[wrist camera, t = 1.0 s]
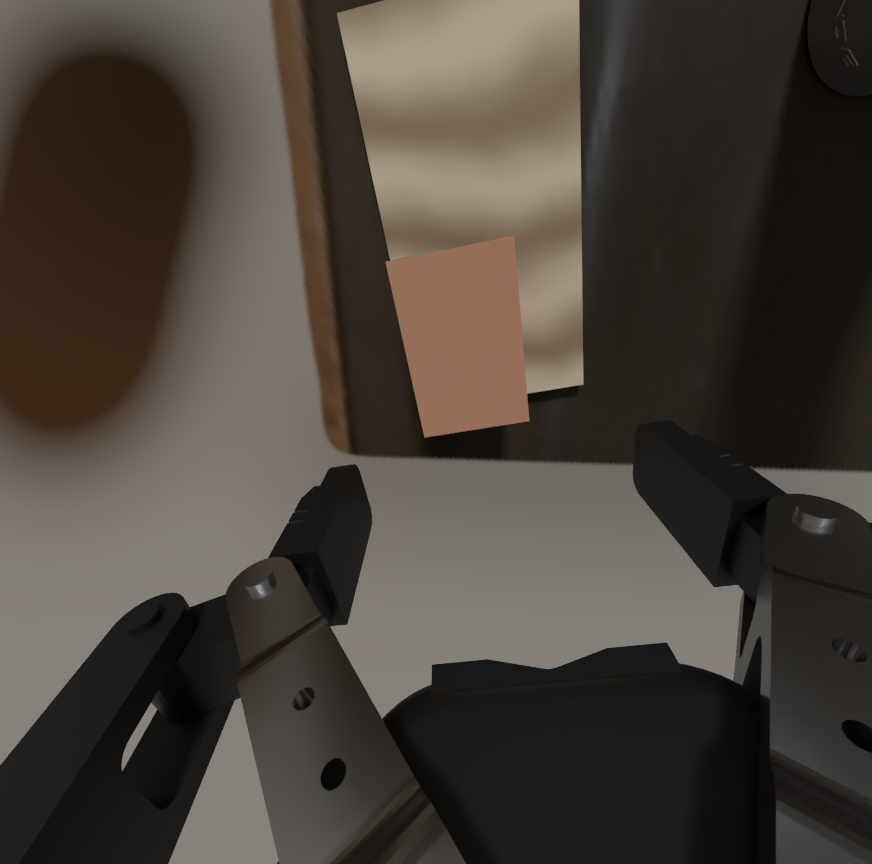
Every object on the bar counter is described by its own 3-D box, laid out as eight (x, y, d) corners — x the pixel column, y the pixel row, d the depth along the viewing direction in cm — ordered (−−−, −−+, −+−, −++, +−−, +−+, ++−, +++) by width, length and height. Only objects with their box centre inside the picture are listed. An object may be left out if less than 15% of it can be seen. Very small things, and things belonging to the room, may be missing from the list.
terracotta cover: (401, 257, 26) (385, 261, 19) (493, 239, 25) (514, 235, 18) (428, 392, 30) (424, 437, 23) (508, 378, 30) (529, 421, 22)
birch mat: (341, 23, 21) (336, 13, 20) (572, -39, 20) (578, -53, 19) (423, 406, 32) (422, 410, 31) (579, 380, 31) (583, 384, 30)
